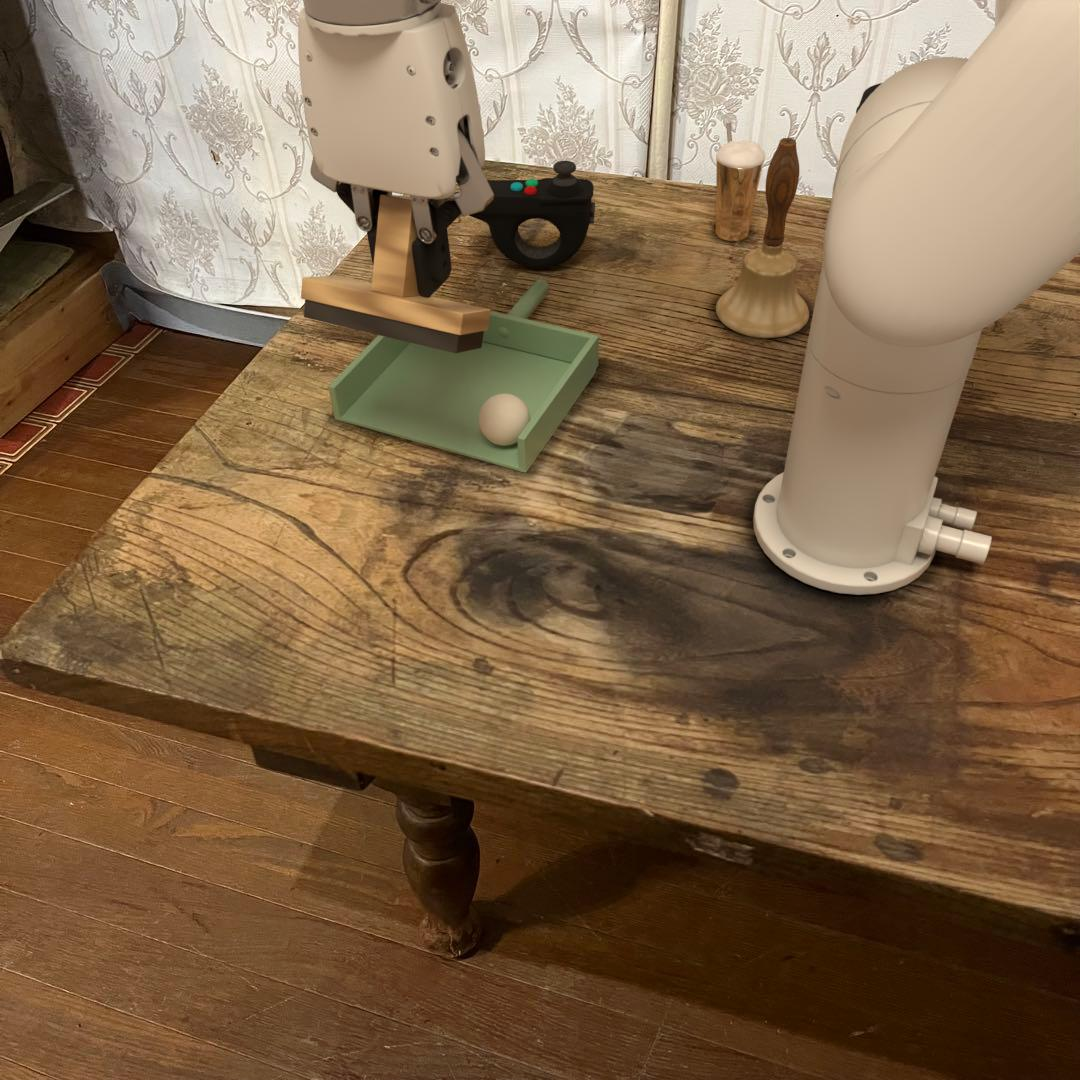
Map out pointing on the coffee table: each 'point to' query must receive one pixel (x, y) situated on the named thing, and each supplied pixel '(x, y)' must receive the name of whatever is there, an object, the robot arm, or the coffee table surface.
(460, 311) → the brush
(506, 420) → the white ball
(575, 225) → the controller
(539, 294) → the dustpan
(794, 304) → the hand bell
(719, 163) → the milkshake
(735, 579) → the coffee table surface
